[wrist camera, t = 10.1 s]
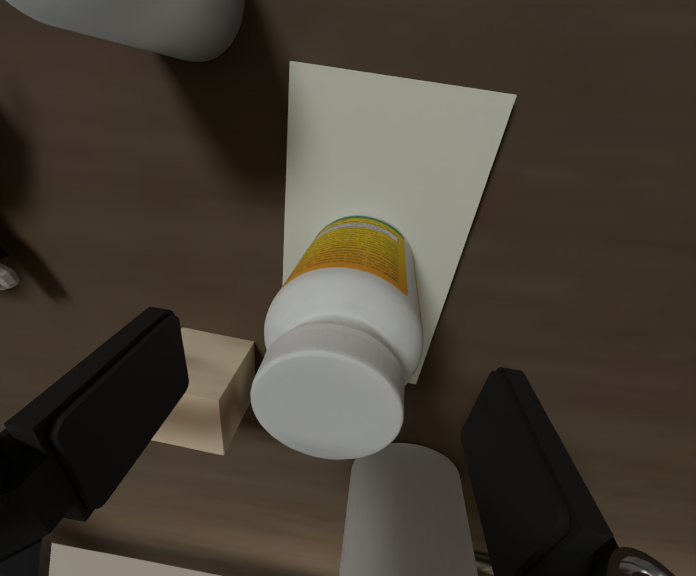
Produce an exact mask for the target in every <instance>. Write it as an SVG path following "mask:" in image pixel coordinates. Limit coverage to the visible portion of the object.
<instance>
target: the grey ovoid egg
mask: <svg viewBox="0 0 696 576" xmlns="http://www.w3.org/2000/svg"><path fill="white" fill-rule="evenodd" d="M6 1H7V2H8V3H9V4H11V5H12V6H14V7H15V8H17V9H18V10H19V11H21V12H22V13H24V14H26V15H28V16H30V17H31V18H33V19H35V20H37V21H40V22H42V23H45V24H48V25H51V26H55V27H59V28H63V29H66V30H70V31H74V32H78V33H82V34H86V35H89V36H93V37H97V38H101V39H105V40H109V41H112V42H116V43H120V44H124V45H128V46H132V47H135V48H139V49H143V50H147V51H151V52H155V53H158V54H162V55H166V56H170V57H174V58H178V59H181V60H185V61H190V62H205V61H208V60H212V59H214V58H216V57H218V56H219V55H221V54H222V53H223V52H225V51H226V49H227V48H228V47H229V46H230V45H231V44H232V42H233V41H234V39H235V37H236V35H237V33H238V31H239V28H240V26H241V23H242V18H243V14H244V6H245V0H6Z"/></svg>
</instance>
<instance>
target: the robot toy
mask: <svg viewBox="0 0 696 576" xmlns="http://www.w3.org/2000/svg"><path fill="white" fill-rule="evenodd" d="M7 255H9V254H8V253H7V252H6V251H5V250H4V249H3V248H2V247H1V246H0V259H1V258H3V257H5V256H7ZM19 281H20V279H19V278H18V276H17V275H16V273H15V272H14V270H13V269H11V268H9V267H7V266H5V265H3V264H1V263H0V290H5V289H10V288H12V287H15V286H16V285H18V284H19Z"/></svg>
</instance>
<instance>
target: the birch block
mask: <svg viewBox="0 0 696 576" xmlns="http://www.w3.org/2000/svg"><path fill="white" fill-rule="evenodd" d="M181 334H182V340H183V346H184V352H185V358H186V365H187V371H188V377H189V385H188V388H187V391H186V392H185V394H184V395H183V397H182V398H181V399H180V401H179V402H178V403H177V405H176V406H175V408H174V409H173V410H172V412H171V413H170V415H169V416H168V417H167V419H166V420H165V421H164V423H163V424H162V426H161V427H160V428H159V430H158V431H157V433H156V434H155V435H154V437H153V438H152V439H151V440H154V441H158V442H163V443H168V444H172V445H177V446H182V447H187V448H191V449H196V450H201V451H205V452H210V453H215V454H219V455H225V452H226V450H227V448H228V446H229V444H230V442H231V440H232V438H233V436H234V434H235V432H236V430H237V428H238V426H239V424H240V422H241V420H242V418H243V416H244V414H245V412H246V410H247V408H248V406H249V404H250V402H251V394H250V392H251V387H252V383H253V380H254V378H255V353H254V342H253V341H248V340H243V339H238V338H233V337H228V336H223V335H218V334H213V333H208V332H203V331H198V330H193V329H188V328H182V329H181Z"/></svg>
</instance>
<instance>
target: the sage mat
mask: <svg viewBox="0 0 696 576" xmlns="http://www.w3.org/2000/svg"><path fill="white" fill-rule="evenodd" d="M516 96H517V95H513V94H507V93H500V92H494V91H487V90H480V89H474V88H467V87H460V86H454V85H447V84H440V83H434V82H427V81H420V80H414V79H407V78H400V77H394V76H387V75H380V74H374V73H367V72H360V71H354V70H347V69H340V68H334V67H327V66H321V65H314V64H307V63H301V62H294V61H290V68H289V100H288V132H287V163H286V195H285V227H284V259H283V285H284V283H285V282H286V280H287V279H288V277H289V276H290V274H291V273H292V271H293V270H294V268H295V267H296V265H297V264H298V262H299V261H300V259H301V258H302V256H303V255H304V254H305V252H306V250H307V249H308V247H309V246H310V244H311V243H312V242H313V240H314V239H315V237H316V236H317V235H318V233H319V232H320V231H321V230H322V229H323V228H324V227H325V226H326V225H327V224H329V223H330V222H332V221H333V220H335V219H337V218H340V217H343V216H346V215H351V214H367V215H372V216H375V217H378V218H381V219H383V220H385V221H387V222H389V223H391V224H393V225H394V226H395V227H397V228H398V229H399V230H400V231H401V233H402V234H403V235H404V236H405V238H406V239H407V241H408V243H409V245H410V247H411V249H412V253H413V257H414V263H415V271H416V279H417V288H418V295H419V303H420V310H421V318H422V326H423V337H424V347H423V354H422V358H421V361H420V364H419V366H418V368H417V370H416V372H415V374H414V375H413V377H412V378H411V380H410V381H409V382H408V383H412V384H416V383H417V380H418V377H419V374H420V371H421V368H422V366H423V363H424V360H425V357H426V354H427V351H428V348H429V345H430V343H431V340H432V337H433V334H434V331H435V328H436V325H437V322H438V320H439V317H440V314H441V311H442V308H443V305H444V302H445V300H446V297H447V294H448V291H449V288H450V285H451V282H452V279H453V277H454V274H455V271H456V268H457V265H458V262H459V259H460V256H461V254H462V251H463V248H464V245H465V242H466V239H467V236H468V233H469V231H470V228H471V225H472V222H473V219H474V216H475V213H476V211H477V208H478V205H479V202H480V199H481V196H482V193H483V190H484V188H485V185H486V182H487V179H488V176H489V173H490V170H491V167H492V165H493V162H494V159H495V156H496V153H497V150H498V147H499V145H500V142H501V139H502V136H503V133H504V130H505V127H506V124H507V122H508V119H509V116H510V113H511V110H512V107H513V104H514V101H515V99H516Z"/></svg>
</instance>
